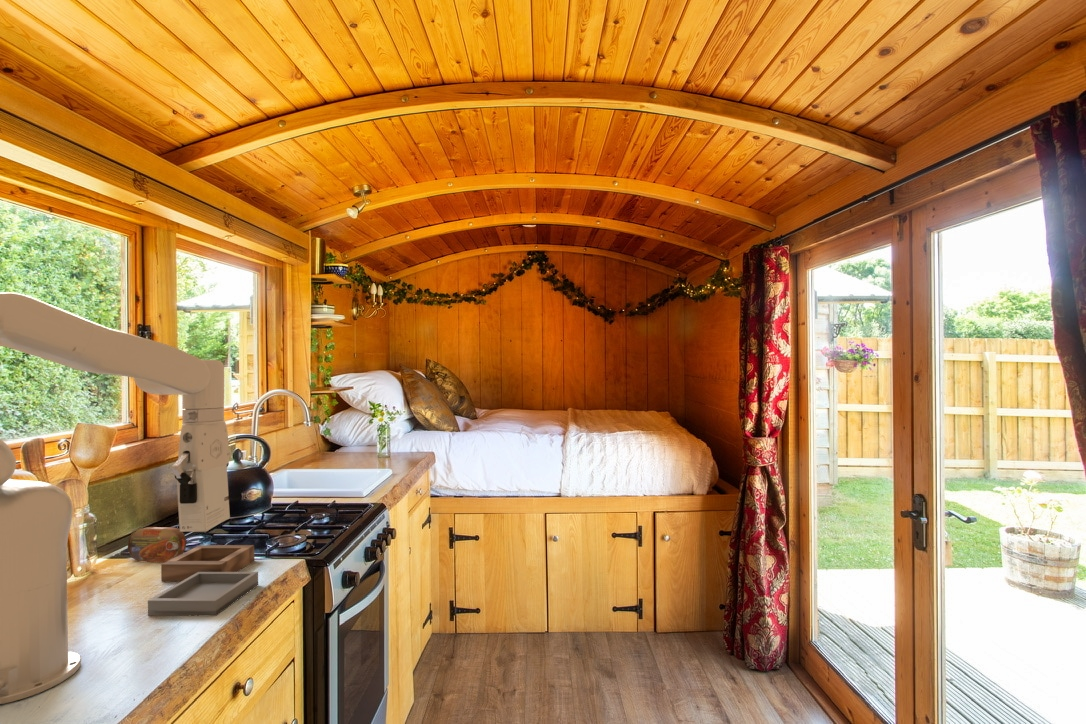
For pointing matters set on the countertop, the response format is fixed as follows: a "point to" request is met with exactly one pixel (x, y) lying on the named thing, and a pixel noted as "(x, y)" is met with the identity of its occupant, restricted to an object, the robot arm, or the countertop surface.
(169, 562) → the walnut holder
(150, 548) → the tin
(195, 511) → the skincare box
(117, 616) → the countertop surface
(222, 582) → the gray tray
